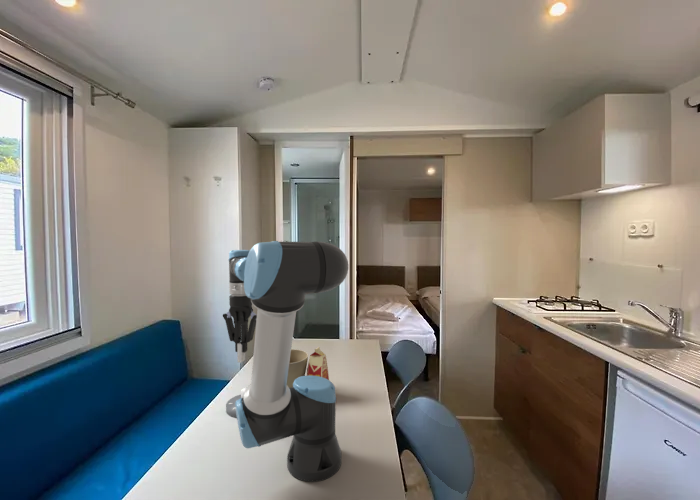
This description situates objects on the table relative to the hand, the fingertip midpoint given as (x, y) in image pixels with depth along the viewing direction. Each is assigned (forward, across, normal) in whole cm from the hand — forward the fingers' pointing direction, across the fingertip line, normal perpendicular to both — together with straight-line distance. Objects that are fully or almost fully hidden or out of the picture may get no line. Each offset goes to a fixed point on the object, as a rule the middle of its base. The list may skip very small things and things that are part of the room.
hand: (241, 361), depth 114 cm
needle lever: (+17, 0, +3) cm, 17 cm away
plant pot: (+20, +11, +17) cm, 28 cm away
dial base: (+19, -1, +5) cm, 20 cm away
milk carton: (+20, +22, +18) cm, 35 cm away
